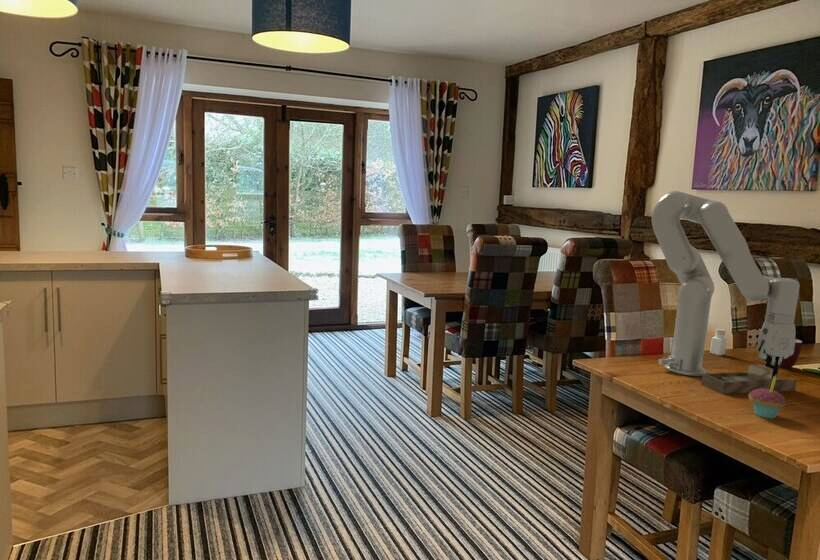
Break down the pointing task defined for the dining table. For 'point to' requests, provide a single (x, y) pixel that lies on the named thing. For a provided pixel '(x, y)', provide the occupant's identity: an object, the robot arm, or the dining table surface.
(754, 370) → the birch block
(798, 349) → the mug
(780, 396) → the cupcake
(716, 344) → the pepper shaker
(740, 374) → the tray
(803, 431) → the dining table surface
